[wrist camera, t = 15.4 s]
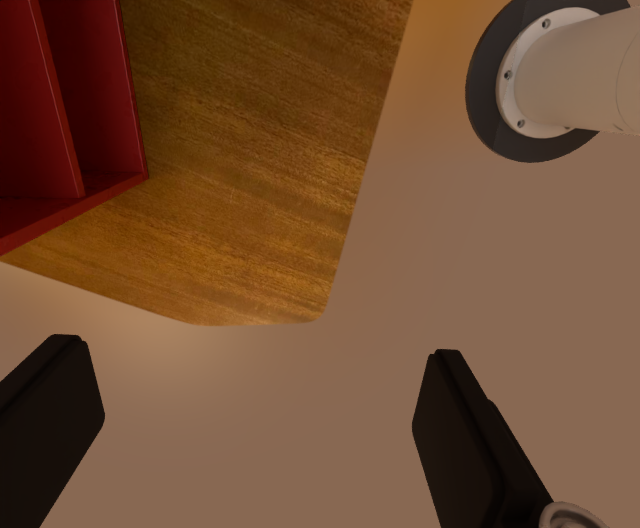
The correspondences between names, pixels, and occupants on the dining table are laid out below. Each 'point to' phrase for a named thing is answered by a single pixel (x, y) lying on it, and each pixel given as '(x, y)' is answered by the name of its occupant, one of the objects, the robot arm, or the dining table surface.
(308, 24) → the dining table surface
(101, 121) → the box
